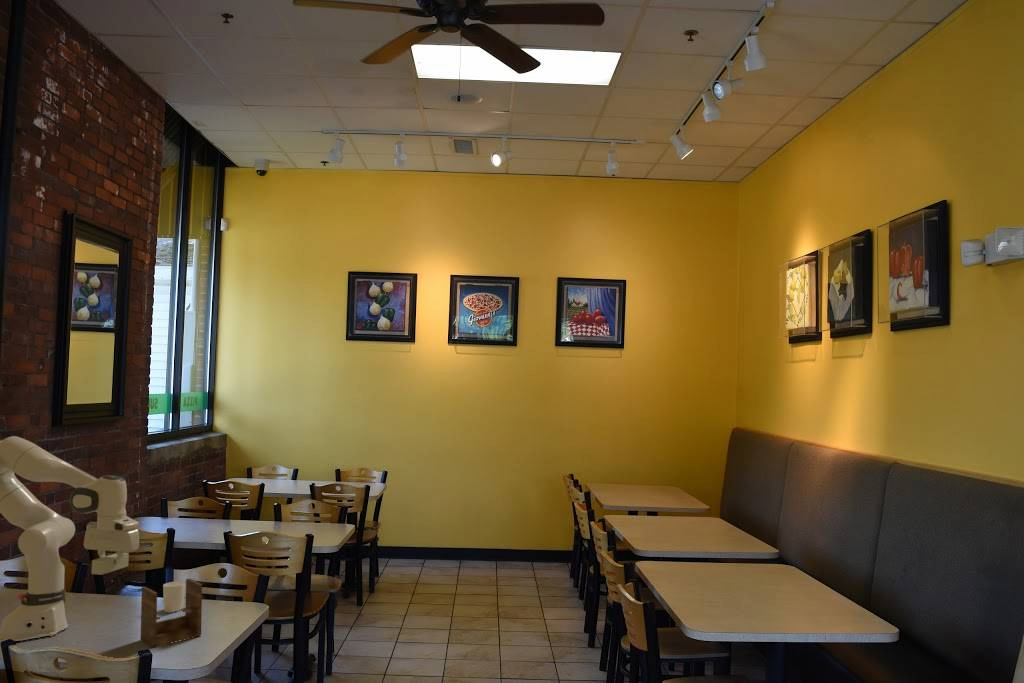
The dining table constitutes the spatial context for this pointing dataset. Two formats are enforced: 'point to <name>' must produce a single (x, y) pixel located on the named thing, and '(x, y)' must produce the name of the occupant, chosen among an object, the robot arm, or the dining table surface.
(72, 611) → the dining table surface
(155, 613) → the wooden napkin holder
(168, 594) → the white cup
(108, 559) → the cream rectangular block
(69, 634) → the dining table surface
